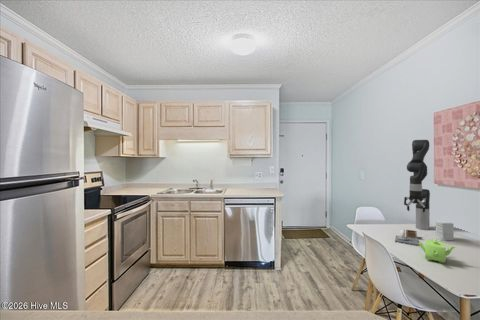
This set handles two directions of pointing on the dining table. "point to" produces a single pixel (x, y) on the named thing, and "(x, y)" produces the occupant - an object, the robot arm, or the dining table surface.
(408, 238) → the post stand
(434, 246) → the kettle
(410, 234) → the wooden square frame
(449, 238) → the supplement box
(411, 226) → the dining table surface
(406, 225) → the dining table surface
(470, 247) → the dining table surface
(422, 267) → the dining table surface
